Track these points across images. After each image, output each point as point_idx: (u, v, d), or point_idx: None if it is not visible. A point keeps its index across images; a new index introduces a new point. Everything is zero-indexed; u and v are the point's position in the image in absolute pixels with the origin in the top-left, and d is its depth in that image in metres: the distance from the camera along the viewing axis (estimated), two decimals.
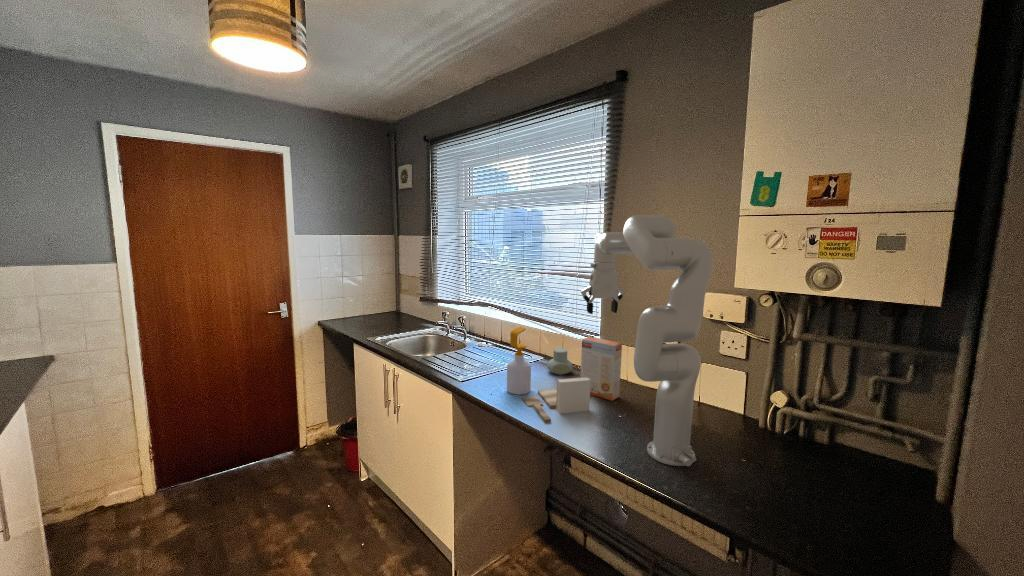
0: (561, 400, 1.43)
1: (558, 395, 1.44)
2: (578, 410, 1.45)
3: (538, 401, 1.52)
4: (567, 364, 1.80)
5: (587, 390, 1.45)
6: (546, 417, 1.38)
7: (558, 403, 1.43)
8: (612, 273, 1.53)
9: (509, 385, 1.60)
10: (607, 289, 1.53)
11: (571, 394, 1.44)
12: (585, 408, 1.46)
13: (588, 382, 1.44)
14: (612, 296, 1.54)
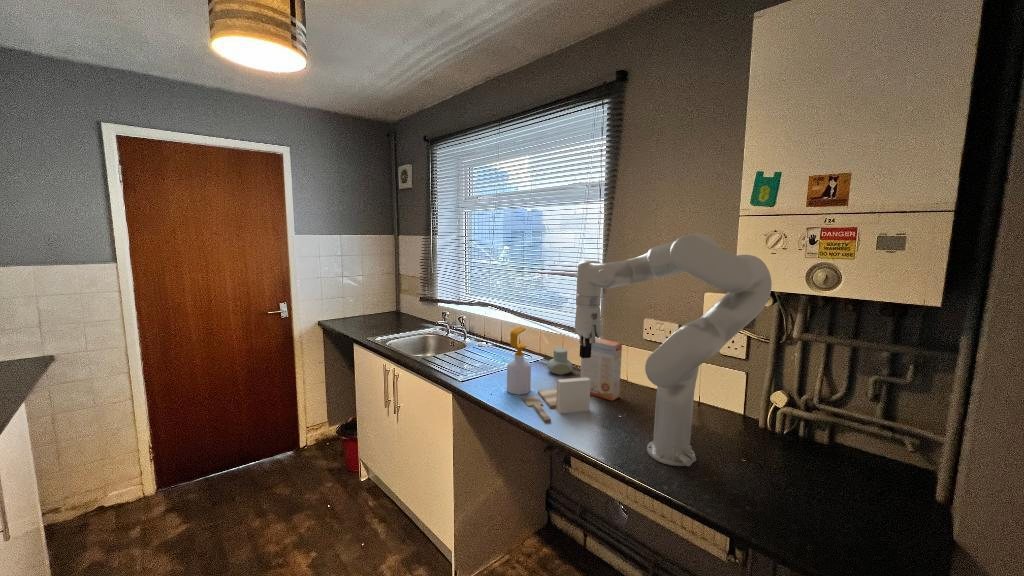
0: (561, 400, 1.43)
1: (558, 395, 1.44)
2: (578, 410, 1.45)
3: (538, 401, 1.52)
4: (567, 364, 1.80)
5: (587, 390, 1.45)
6: (546, 417, 1.38)
7: (558, 403, 1.43)
8: None
9: (509, 385, 1.60)
10: None
11: (571, 394, 1.44)
12: (585, 408, 1.46)
13: (588, 382, 1.44)
14: None
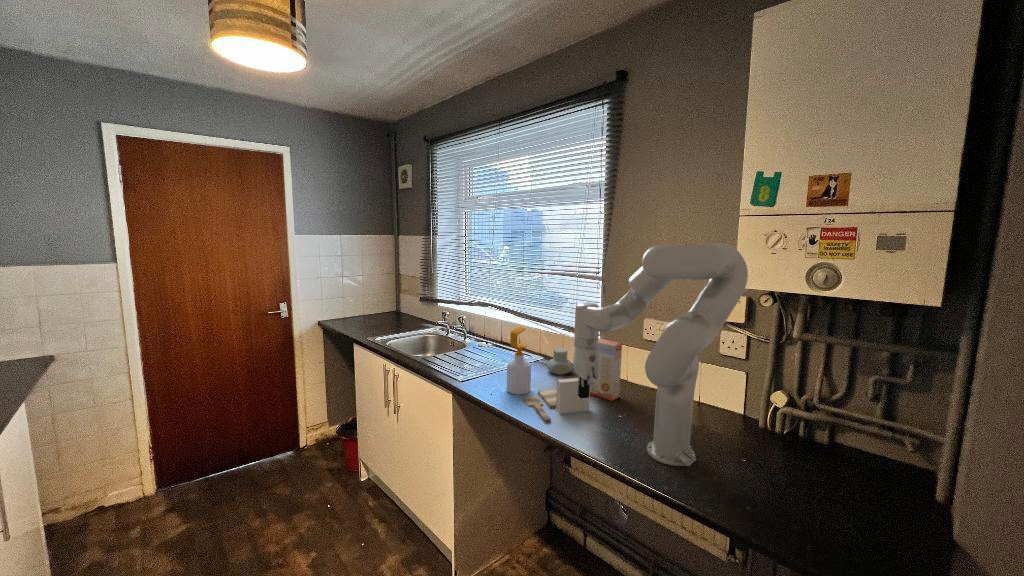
0: (561, 400, 1.43)
1: (558, 395, 1.44)
2: (578, 410, 1.45)
3: (538, 401, 1.52)
4: (567, 364, 1.80)
5: None
6: (546, 417, 1.38)
7: (558, 403, 1.43)
8: None
9: (509, 385, 1.60)
10: None
11: (571, 394, 1.44)
12: (585, 408, 1.46)
13: None
14: None
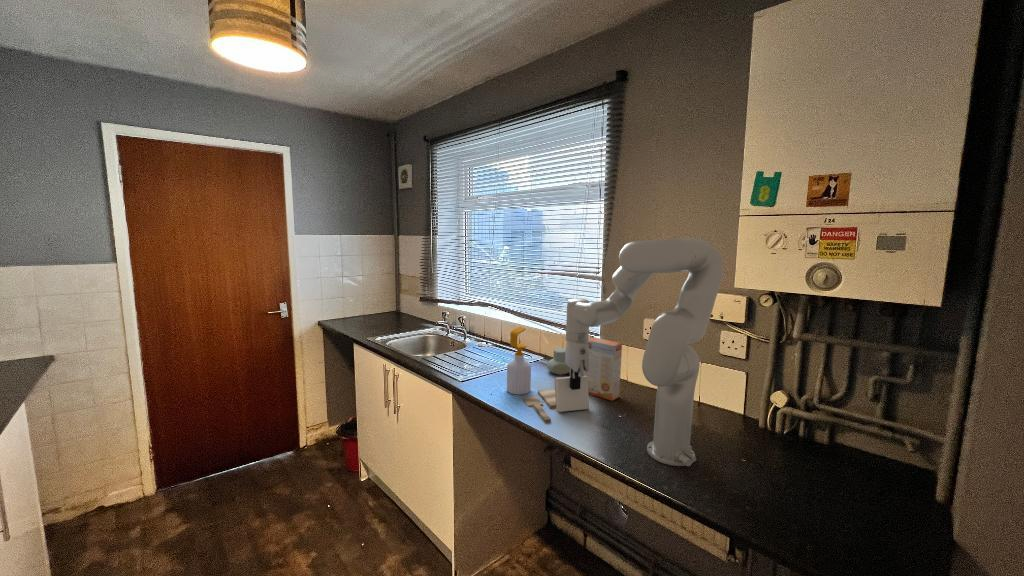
0: (560, 397, 1.44)
1: (556, 393, 1.45)
2: (578, 408, 1.45)
3: (538, 401, 1.52)
4: None
5: (585, 387, 1.46)
6: (546, 417, 1.38)
7: (558, 401, 1.44)
8: None
9: (509, 385, 1.60)
10: None
11: (570, 392, 1.45)
12: (585, 406, 1.46)
13: (585, 379, 1.46)
14: None
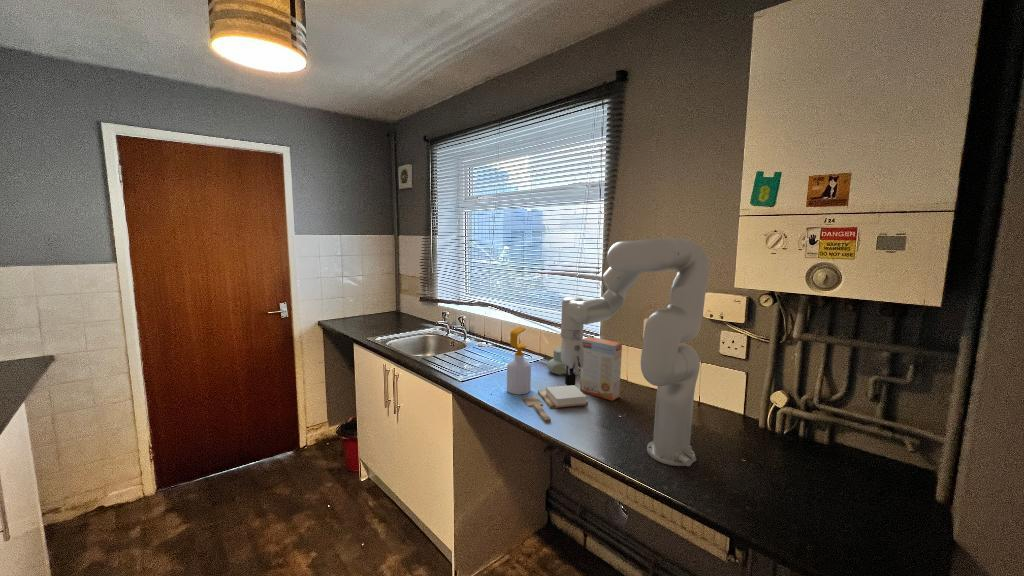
0: (554, 393, 1.50)
1: (550, 396, 1.51)
2: (575, 396, 1.47)
3: (538, 401, 1.52)
4: None
5: (575, 388, 1.55)
6: (546, 417, 1.38)
7: (553, 396, 1.49)
8: None
9: (509, 385, 1.60)
10: None
11: (562, 391, 1.52)
12: (581, 395, 1.49)
13: (573, 385, 1.58)
14: None
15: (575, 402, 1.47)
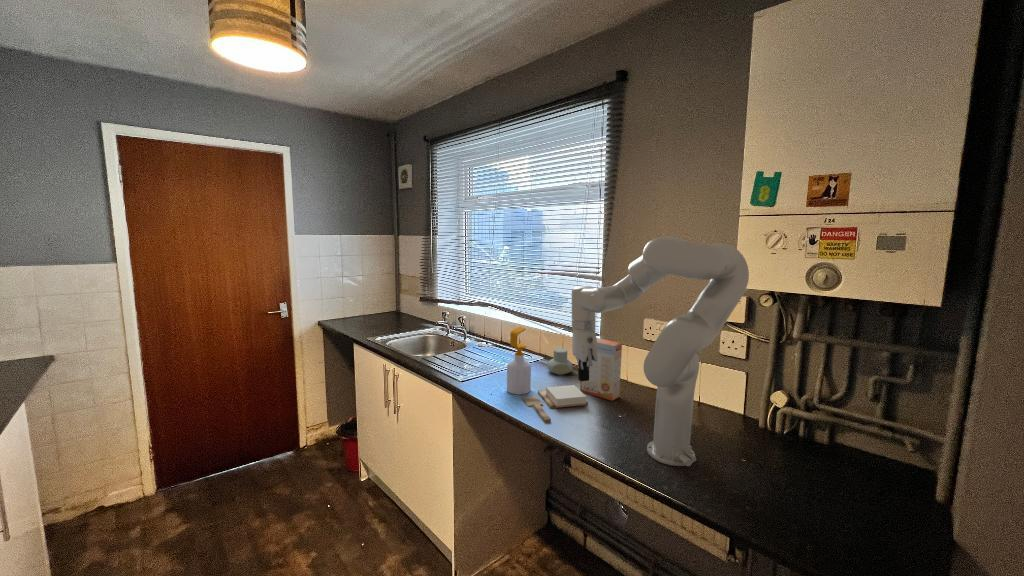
0: (554, 393, 1.50)
1: (550, 396, 1.51)
2: (575, 396, 1.47)
3: (538, 401, 1.52)
4: (567, 364, 1.80)
5: (575, 388, 1.55)
6: (546, 417, 1.38)
7: (553, 396, 1.49)
8: None
9: (509, 385, 1.60)
10: None
11: (562, 391, 1.52)
12: (581, 395, 1.49)
13: (573, 385, 1.58)
14: None
15: (575, 402, 1.47)
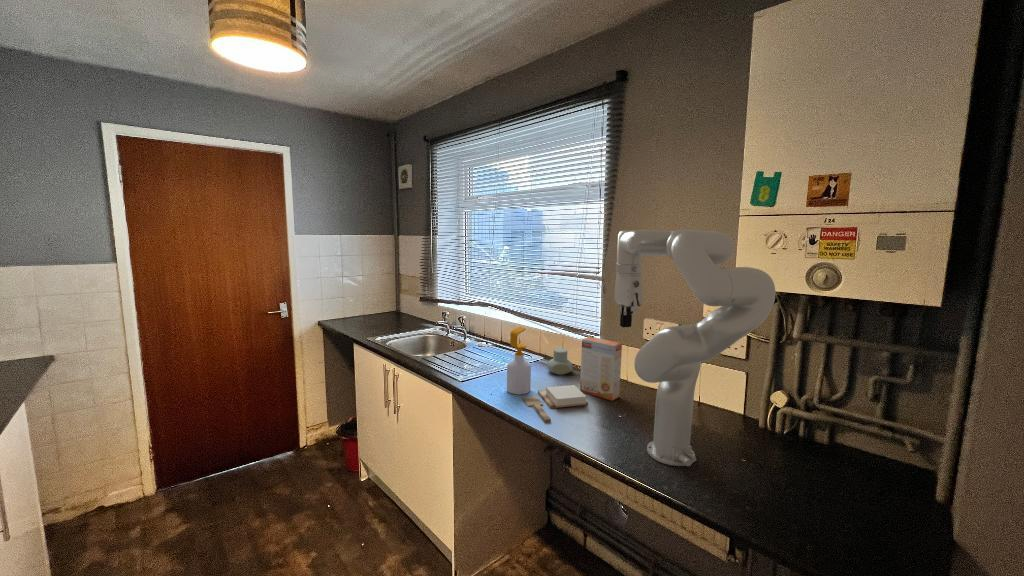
0: (554, 393, 1.50)
1: (550, 396, 1.51)
2: (575, 396, 1.47)
3: (538, 401, 1.52)
4: (567, 364, 1.80)
5: (575, 388, 1.55)
6: (546, 417, 1.38)
7: (553, 396, 1.49)
8: None
9: (509, 385, 1.60)
10: None
11: (562, 391, 1.52)
12: (581, 395, 1.49)
13: (573, 385, 1.58)
14: None
15: (575, 402, 1.47)
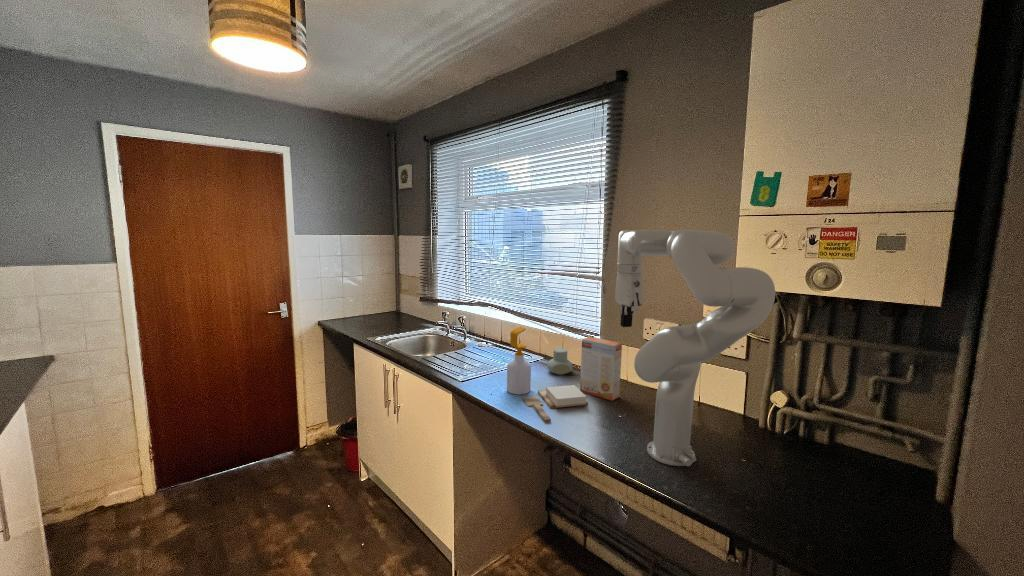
0: (554, 393, 1.50)
1: (550, 396, 1.51)
2: (575, 396, 1.47)
3: (538, 401, 1.52)
4: (567, 364, 1.80)
5: (575, 388, 1.55)
6: (546, 417, 1.38)
7: (553, 396, 1.49)
8: None
9: (509, 385, 1.60)
10: None
11: (562, 391, 1.52)
12: (581, 395, 1.49)
13: (573, 385, 1.58)
14: None
15: (575, 402, 1.47)
